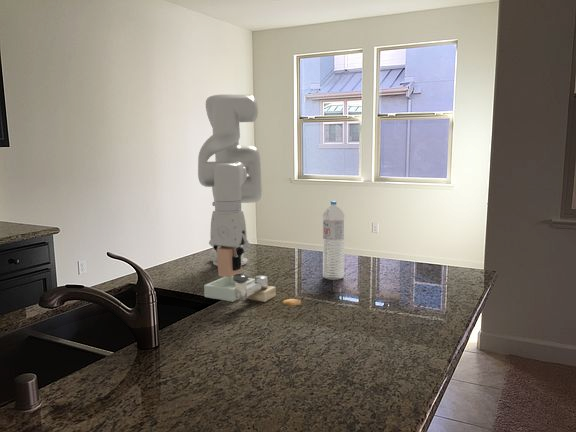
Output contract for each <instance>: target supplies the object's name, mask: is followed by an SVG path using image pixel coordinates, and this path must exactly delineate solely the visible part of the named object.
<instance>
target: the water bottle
mask: <svg viewBox="0 0 576 432" xmlns="http://www.w3.org/2000/svg"><path fill="white" fill-rule="evenodd" d="M322 222H323V223H322V224H323V225H322V229H323V230H322V276H323V277H322V278H323V279H326V280H329V281H337V280H338V281H339V280H341V279H343V278H344V276H345V237H344V236H345V235H344V234H345V233H344V230H345V227H344V225H345V224H344V223H345V214H344V212H343V210H342V209H341V208H340V207H338V206H337V200H332V201H330V206H328V208H325V210H324V212H323V214H322Z"/></svg>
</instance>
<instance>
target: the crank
mask: <svg viewBox="0 0 576 432" xmlns="http://www.w3.org/2000/svg"><path fill="white" fill-rule="evenodd" d="M248 278H249V275H248V274H247V273H238V274H236V275H234V276H233V280H234V281H235V290H236V299H237V300H245V299H247V297H248V296H250V295H251V294H253V293H255V292H257V291H259V290H261V289H266V288H268V286H269V285H268V284H269V283H268V276H266V275H256V276H254V279H255V282H253V283H251V284H249V285H247V280H248Z"/></svg>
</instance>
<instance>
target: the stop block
mask: <svg viewBox="0 0 576 432" xmlns="http://www.w3.org/2000/svg"><path fill="white" fill-rule="evenodd" d="M237 251H238V250H237ZM233 257H234V254H233V248H232V247H224V246H223V247H220V248H218V249H217V261H218V266H217V271H218V277H232V276H234V275H236V274H240V273H241V272H242V271H243V269H242V266H241V268H240V269H238V270H236V271H233V261H232V258H233Z"/></svg>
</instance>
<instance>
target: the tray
mask: <svg viewBox="0 0 576 432" xmlns="http://www.w3.org/2000/svg"><path fill="white" fill-rule="evenodd" d="M253 282H255V278H251V277H248V280H247V285H249V284H251V283H253ZM203 290H204V298H209V299H213V300H215V299H216V300H222V301H227V302H232V303H233V302H236V301H237V300H238V299H236V290H235V281H234V280H233V276H232V277H224V276H222V277H221V278H218V279H216V280H213V281H211V282H209V283H206V284H204V285H203Z"/></svg>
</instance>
